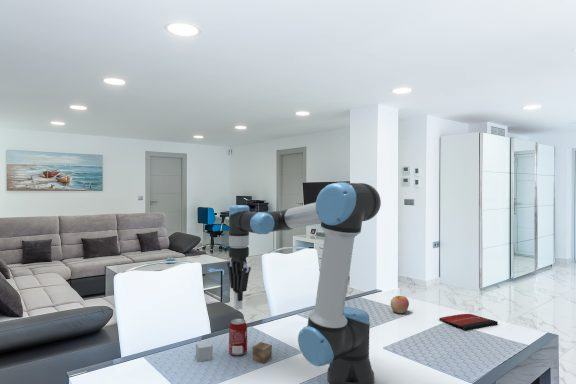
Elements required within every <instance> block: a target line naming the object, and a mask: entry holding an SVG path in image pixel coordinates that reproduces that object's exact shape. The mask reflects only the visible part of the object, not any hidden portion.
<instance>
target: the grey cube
mask: <svg viewBox="0 0 576 384" xmlns="http://www.w3.org/2000/svg"><path fill="white" fill-rule="evenodd" d="M213 348H214V347H213V344H212V343H211V341H210V340H207V341H200V342H195V357H196V360H197V362H199V363H201V362H205V361H211V360H213V354H214V353H213V352H214V351H213Z"/></svg>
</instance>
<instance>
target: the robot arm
mask: <svg viewBox="0 0 576 384" xmlns="http://www.w3.org/2000/svg"><path fill="white" fill-rule="evenodd" d="M316 197H317V198H316V200H315V202H311V203H307V204H304V205H303V204H302V205H299V206H296V207H295V206H294V207H291V208H287V209H282V210H274V211H272V210H271V211H250V206H249V205H245V204H244V205H243V204H242V205H241V204H240V205H239V204H235V205H230V206H229V211H228V212H229V214H228V246H229V247H228V257H229V258H231V259H230V261H229V262H226V264H227V268H228V277H229V284H230V285H229V286H230V289H232V291H233V310H235V311H237V310H242V309H243V300H244V299H243V297H244V296H243V295H244V293H243V292H246V291H247V289H248V283H249V278H250V277H249V276H250V272H251V270H252V269H251V268H252V267H250V266H248V265H247V258H249V255H250V248H249V245H250V234H251V233H252V234H257V235H268V234H270V233H274V232H282V231H291V230H294V229H298V228H304V227H307V226H308V227H309V226H313V225H320V228H321V229H322V230H323V232H324V239H323V246H322V252H321V253H322V254H321V261H320V268H319V276H318V283H317V290H316V298H315V305H314V309H313V310H311V311H310V312H309V313H308V319H307V325H306V326H304V327H303V328H302V329H300V331H299V332H298V336H297V341H298V342H297V343H298V347H299V348H298V349H299V350H300V352H301V353H302V355H303V357H304V358H305V360H306V361H307V362H309V364H311V365H313V366H316V367H323V366H326V365H329V366H328V368H327V373H326V375H327V377H326V378H327V381H328V382H329V384H375V372H374V371H373V368H372V364H371V360H370V325H371V323H370V315H369V313H368V312H367V311H365V310H364V309H361V308H358V307H352V306H346V298H347V291H348V286H349V276H350V270H351V265H352V264H351V263H352V258H353V257H352V255H353V249H354V242H355V237H356V236H358V235H359V234H361V233H362V232H361V231H362V226H363V222H366V221H369V220H372V219H373V218H374V217H375V216H376V215H377V214H378V213H379V212H380V209H381V206H382V205H381V203H382V202H381V196H380V194H379V192H378V190H377V189H376V188H375V187H374V186H372V185H370V184H368V183H365V182H343V181H342V182H341V181H340V182H339V181H338V182H333V183H331V184H330V183H329V184H327V185H326V186H324V187H323V188H322V189H321V190H320V191H319V192H318V195H317V196H316Z"/></svg>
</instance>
